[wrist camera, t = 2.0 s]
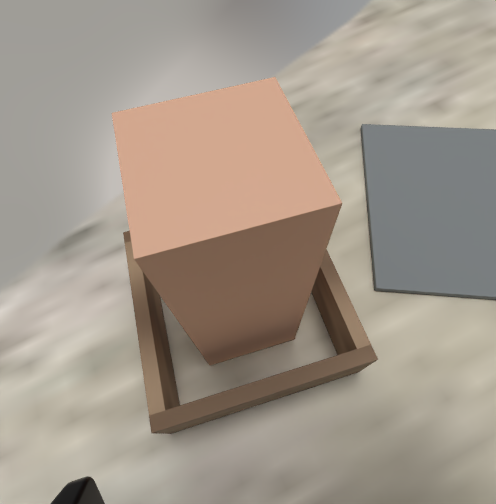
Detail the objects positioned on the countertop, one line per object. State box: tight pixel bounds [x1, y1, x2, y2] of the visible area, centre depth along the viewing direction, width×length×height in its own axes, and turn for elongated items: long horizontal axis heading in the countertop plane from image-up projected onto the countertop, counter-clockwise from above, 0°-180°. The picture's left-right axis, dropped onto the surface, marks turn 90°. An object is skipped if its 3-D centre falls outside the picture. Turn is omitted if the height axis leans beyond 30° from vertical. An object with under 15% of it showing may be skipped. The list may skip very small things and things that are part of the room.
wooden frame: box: [123, 231, 378, 434], centre depth 19 cm, size 10×10×4 cm
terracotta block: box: [112, 77, 342, 365], centre depth 15 cm, size 5×5×13 cm
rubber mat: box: [361, 124, 496, 300], centre depth 23 cm, size 14×14×1 cm
